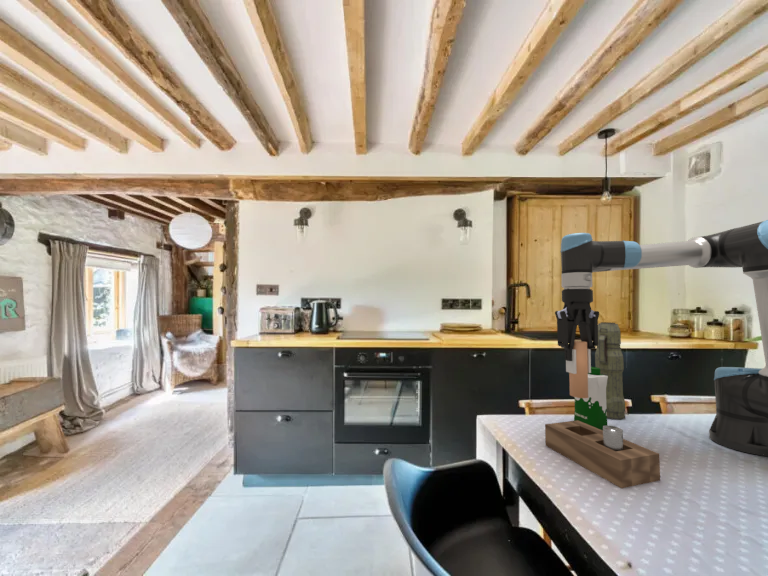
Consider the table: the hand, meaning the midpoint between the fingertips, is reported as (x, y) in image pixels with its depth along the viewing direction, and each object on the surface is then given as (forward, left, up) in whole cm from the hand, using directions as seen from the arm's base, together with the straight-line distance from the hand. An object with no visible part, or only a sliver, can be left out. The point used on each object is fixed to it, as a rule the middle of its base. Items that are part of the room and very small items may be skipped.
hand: (578, 372), depth 88 cm
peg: (0, 0, -7) cm, 7 cm away
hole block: (0, +5, -23) cm, 23 cm away
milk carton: (-21, -15, -23) cm, 35 cm away
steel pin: (0, +9, -22) cm, 24 cm away
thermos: (-39, -22, -23) cm, 51 cm away
